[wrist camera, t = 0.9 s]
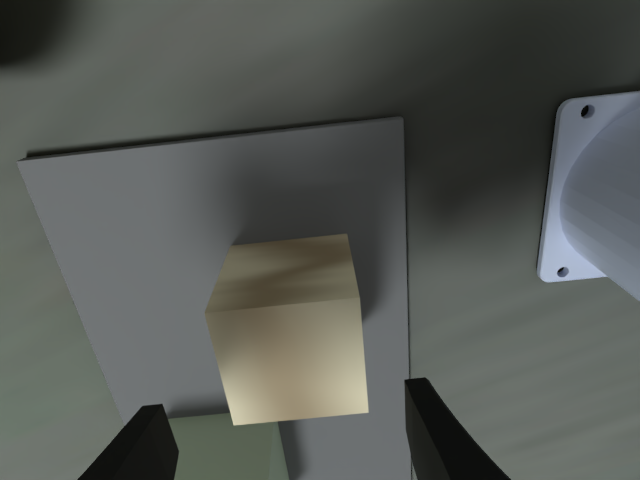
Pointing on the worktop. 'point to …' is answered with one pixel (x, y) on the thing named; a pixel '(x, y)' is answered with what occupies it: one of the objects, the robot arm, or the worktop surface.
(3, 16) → the worktop surface
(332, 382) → the birch block
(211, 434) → the sage brick
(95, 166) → the play mat
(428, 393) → the robot arm
